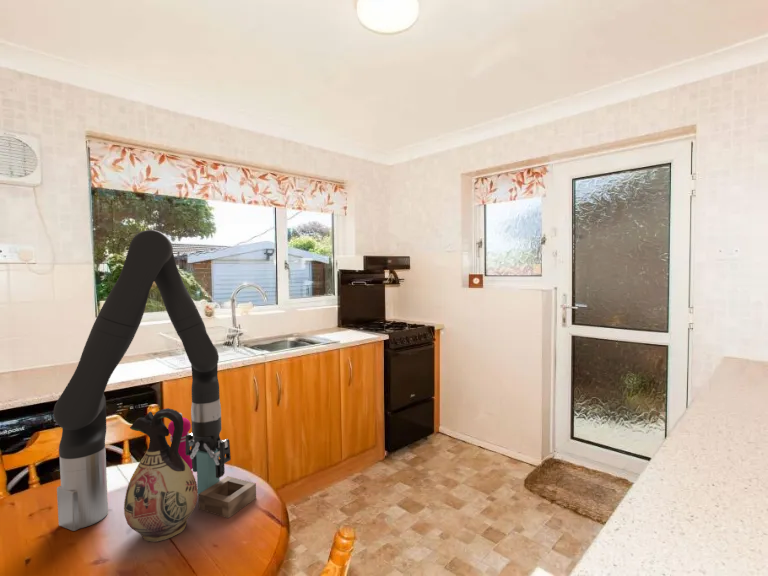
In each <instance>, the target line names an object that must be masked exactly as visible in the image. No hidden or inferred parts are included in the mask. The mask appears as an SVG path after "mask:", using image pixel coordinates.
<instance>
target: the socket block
mask: <svg viewBox="0 0 768 576" xmlns="http://www.w3.org/2000/svg"><path fill="white" fill-rule="evenodd" d="M256 498H257V483H256V482H252V481H247V480H244V479H241V478H236V477H233V476H228V475H227V476H225V477H224V478H222V479H221V480H220V481H219V482H217V483H216V484H214V485H212V486H211V487H209V488H208V489H206V490H204V491H203V492H201V493H200V494H199V495H198V510H201V511H204V512H207V513H211V514H214V515H217V516H220V517H223V518H227V519H230V518H231V517H232V516H234V515H236V513H238V512H239V511H240V510H242V509H243V508H244V507H246V506H248V505H249V503H251V502H253V501H254V500H255V499H256Z"/></svg>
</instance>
